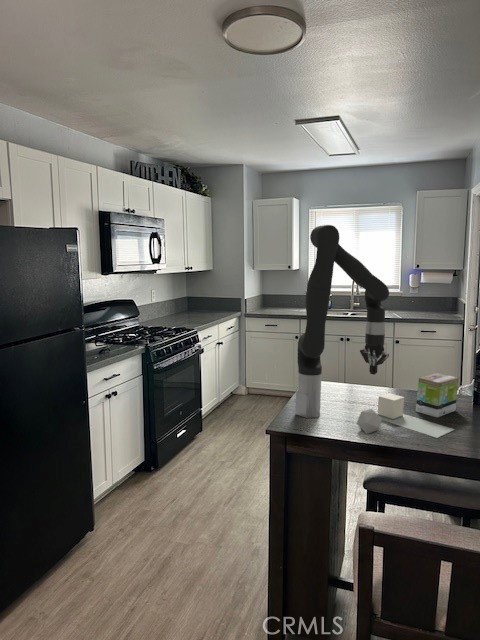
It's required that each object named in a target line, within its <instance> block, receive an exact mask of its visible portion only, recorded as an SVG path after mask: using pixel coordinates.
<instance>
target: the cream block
mask: <svg viewBox="0 0 480 640" xmlns="http://www.w3.org/2000/svg"><path fill="white" fill-rule="evenodd" d="M377 402H378V403H377V404H378V405H377V413H378V415H379V416H381V417H384V418H387V419H390V420H395V419H398V418H400V417H403V414H404V405H405V397H404V396H400V395H398V394H393V393H389V392H388V393H387V392H386V393H384V394H381V395H378V399H377Z"/></svg>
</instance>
